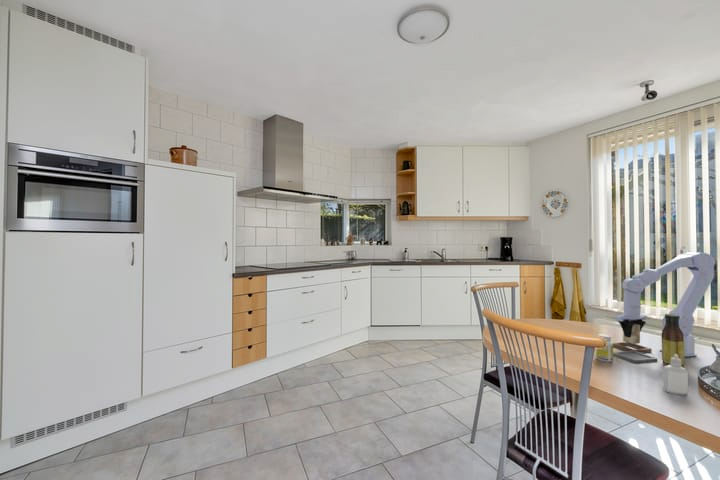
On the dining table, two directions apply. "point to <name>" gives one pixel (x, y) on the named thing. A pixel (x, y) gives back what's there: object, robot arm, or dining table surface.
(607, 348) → the supplement bottle
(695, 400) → the dining table surface
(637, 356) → the tray
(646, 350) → the holder
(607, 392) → the dining table surface
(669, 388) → the eye dropper bottle
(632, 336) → the peg
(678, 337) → the sauce bottle
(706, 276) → the robot arm
